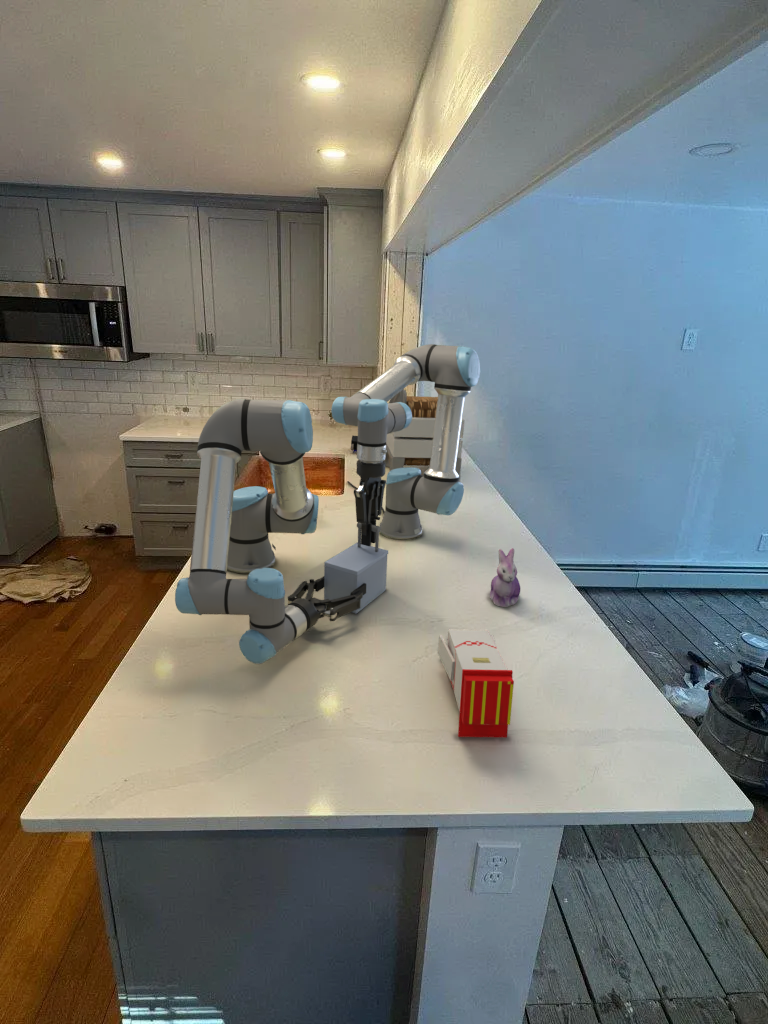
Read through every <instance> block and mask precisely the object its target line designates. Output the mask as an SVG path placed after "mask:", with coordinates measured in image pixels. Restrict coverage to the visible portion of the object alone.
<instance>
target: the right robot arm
mask: <svg viewBox="0 0 768 1024" xmlns="http://www.w3.org/2000/svg"><path fill="white" fill-rule="evenodd" d="M480 375H481V362H480V357H479V355H478V353H477V351H476V350H475V349H474V348H472V347H468V346H462V345H446V344H445V345H444V344H436V343H435V344H434V343H433V344H432V343H430V344H424V345H421V346H418V347H415V348H412V349H410V350H409V351H407V352H405V353H403V354H401V355H400V356H399V357H398V358H396V359H395V361H394V364H393V365H392V366H391V367H389V368H388V369H387V370H385V371H384V372H383V373H381V374H380V375H378V376H377V377H376V378H374V379H373V380H372V381H370V382H368V383H367V384H366V385H365V386H363V387H362V388H361V389H359V390H358V391H357V392H355V393H354V394H353V395H351V396H349V397H348V396H338V397H336V398H335V399H334V400H333V402H332V405H331V409H330V410H331V417H332V419H333V420H334V422H336V423H338V424H343V425H345V426H352V427H357V436H358V442H357V452H356V459H357V460H356V475H358V476H359V478H360V479H359V485H358V486H359V487H357V486H355V485H354V484H353V483H352V482H350V480H347V481H346V483H347V484H348V485H349V486H351V487H352V488H353V489H354V490H353V495H354V500H355V501H354V502H355V503H354V504H355V519H356V523H361V524H362V527H361V544H362V545H366V546H372V544H375V539H376V532H373V531H371V529H372V525H376V526H377V521H380V520H381V522H379V526H380V527H381V530H380V532H379V535H381V536H382V537H385V538H387V539H389V540H395V541H410V540H415V539H418V538H420V537H421V536H422V535H423V525H422V524H421V518H420V515H419V510H420V511H425V512H429V513H433V514H436V515H438V516H439V515H442V516H447V517H448V516H452V515H453V514H454V513H456V511H457V510H458V509H459V507H460V505H461V503H462V500H463V497H464V493H465V488H464V483H462V482H461V481H460V482H459V475H458V473H457V472H456V470H455V469H456V461H457V454H458V446H459V438H460V431H461V423H462V419H463V414H464V408H465V407H464V406H465V400H466V397H467V395H469V394H470V393H471V391H472V388H473V387H475V386H477V385H478V382H479V379H480ZM419 382H430V383H434V386H433V387H434V388H433V389H434V390H435V391H436V393H437V397H438V400H437V408H436V417H435V425H434V434H433V442H432V450H431V459H430V466H428V468H427V469H426V470H424V471H423V474H422V470H421V468H419V467H413V466H411V467H409V466H406V467H404V468H397V469H393V470H391V471H390V470H389V471H388V472H387V475H386V479H382V477H384V476H385V474H386V466H385V464H386V463H385V461H384V460H385V459H386V453H387V451H386V439H387V434H389V433H392V432H396V431H401V430H402V429H404V428H406V427H408V426H409V424H410V423H411V420H412V412H411V410H410V408H409V406H408V405H406V404H405V403H402V402H394V403H389V401H390V400H391V398H393V397H394V396H395V395H396V394H398V393H399V392H400V391H401V390H403V389H404V390H405V388H406V387H408V386H413V385H415V384H417V383H419ZM460 439H461V438H460ZM384 492H385V493H384ZM384 494H385V504H384V505H385V507H384V508H385V509H384V508H383V503H384ZM382 514H383V515H382ZM381 515H382V519H381V517H380V516H381Z"/></svg>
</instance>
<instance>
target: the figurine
mask: <svg viewBox="0 0 768 1024" xmlns="http://www.w3.org/2000/svg"><path fill="white" fill-rule="evenodd" d="M514 558H515V548H514V547H512V548H511V549H509V551H508V553H507V555H506V554H505V551H503V549H501V548H499V549H498V565H497V568H496V574H497V575H495V576H494V577H493V578H492V579H491V582H490V591H489V599H490V600H491V601H492V602H493V604H494V605H495V606H497V607H503V608H507V607H510V606H514V605H516V603H518V601H519V597H520V594H521V584H520V581H519V579H518V577H517V576H518V569H517V567H516V564H515V561H514Z"/></svg>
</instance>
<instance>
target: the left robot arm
mask: <svg viewBox="0 0 768 1024" xmlns="http://www.w3.org/2000/svg"><path fill="white" fill-rule="evenodd" d="M312 419H313V418H312V413H311V411H310V408H309V406H308V405H307V404H306V403H305V402H302V401H296V400H291V399H288V400H287V399H285V400H283V399H282V400H279V399H247V398H237V399H232V400H230V401H228V402H226V403H224V404H222V405H220V407H218V408H217V409H216V410H215V411H214V412H213V413H212V414H211V415H210V417H209V418H208V419H207V421H206V422H205V424H204V426H203V428H202V429H201V433H200V434H199V438H198V442H197V448H196V456H197V457H198V459H200V468H199V470H200V471H199V478H198V488H197V497H196V506H195V516H194V524H193V526H194V527H193V535H192V536H193V537H192V545H191V546H192V547H191V554H190V555H191V557H190V566H189V575H188V577H183V578H180V579H178V582H177V583H176V588H175V592H174V602H175V607H176V609H177V610H178V612H180V613H181V614H188V615H198V616H202V615H221V616H223V615H227V616H229V615H230V616H248V620H249V628H248V630H245V631H244V633H242V634H241V636H240V638H239V641H238V645H239V651H240V652H241V654H242V655H243V657H244V658H245V659H246V660H247V662H250V663H252V664H257V665H259V664H263V663H265V662H267V661H268V660H270V659H271V658H274V657H276V655H277V654H278V653H279V652H281V651H282V650H283V649H284V648H286V647H287V646H288V645H290V644H291V643H292V642H294V641H295V640H296V639H298V638H299V637H301V636H302V635H303V634H304V633H306V632H308V630H311V628H313V627H314V626H315V625H316V624H317V623H318V622H319V619H322V618H325V617H326V618H329V621H330V622H335V621H336V620H337V619H338V618H340V617H343V616H345V615H349V613H352V611H355V610H357V609H359V608H360V604H361V599H362V597H363V595H364V594H366V583H363V584H362V585H361V586H359V587H358V588H357V589H355V590H354V591H352V592H351V594H350V596H345V597H341V598H337V599H332V600H330V599H324V598H323V599H319V598H317V597H314V593H318V592H320V591H321V590H322V589H324V575H323V576H322V577H320V578H317V579H316V580H315V579H313V578H310V579H309V581H307V580H303V581H302V582H300V584H299V585H298V586H297V588H296V589H295V590H294V591H293V593H292V594H289V595H288V596H287V605H286V590H285V582H284V581H285V580H284V575H283V573H282V572H281V571H280V570H278V569H277V568H273V567H274V565H275V564H276V554H275V553H274V550H275V551H277V549H276V546H275V545H274V543H271V542H270V538H269V534H300V535H305V534H306V535H307V534H314V533H315V532H316V529H317V525H318V515H319V506H320V505H319V503H320V502H319V501H320V500H319V496H318V494H314V493H312V492H311V491H310V489H309V488H307V483H306V475H305V466H304V457H305V455H306V454H307V453H308V452H310V451H311V450H312V449H313V441H314V438H313V437H314V431H313V430H314V429H313V420H312ZM243 451H247V452H249V451H250V452H259V453H260V455H261V457H262V458H263V459H264V460H265V461H266V462H267V463H268V466H269V471H270V475H271V480H272V485H273V489H274V493H269V491H268V489H267V488H266V487H264V486H261V485H260V486H259V485H258V486H257V485H255V486H252V485H251V486H246V487H242V488H238V489H235V480H236V469H237V464H238V463H239V462H241V460H242V454H243V453H242V452H243ZM228 571H229V572H232V573H236V574H243V575H245V574H248V575H247V578H227V573H228ZM304 595H305V598H304V597H303V596H304Z"/></svg>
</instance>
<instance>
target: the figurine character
mask: <svg viewBox="0 0 768 1024" xmlns="http://www.w3.org/2000/svg"><path fill="white" fill-rule="evenodd" d="M357 442H358V435H351V441H350V451H352V454H355V453H357Z"/></svg>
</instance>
